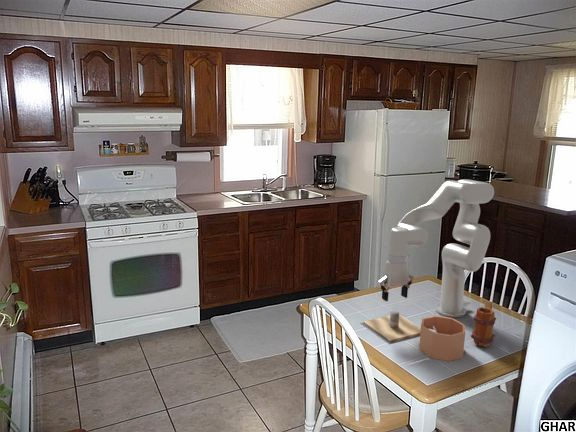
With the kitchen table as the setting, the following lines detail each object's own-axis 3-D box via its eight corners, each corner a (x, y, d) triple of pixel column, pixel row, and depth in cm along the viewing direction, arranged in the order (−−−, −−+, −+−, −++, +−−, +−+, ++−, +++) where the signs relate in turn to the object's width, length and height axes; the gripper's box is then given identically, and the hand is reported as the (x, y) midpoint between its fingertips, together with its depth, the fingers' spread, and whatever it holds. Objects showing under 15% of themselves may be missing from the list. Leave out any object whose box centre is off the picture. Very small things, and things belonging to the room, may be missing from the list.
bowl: (441, 336, 189) (443, 313, 186) (472, 354, 175) (474, 330, 173) (411, 344, 182) (412, 320, 180) (439, 364, 168) (442, 338, 166)
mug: (491, 351, 177) (495, 315, 174) (468, 346, 181) (472, 310, 178) (497, 336, 189) (501, 301, 186) (476, 330, 193) (479, 297, 190)
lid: (397, 315, 206) (398, 301, 204) (425, 333, 190) (426, 317, 189) (363, 323, 199) (364, 308, 197) (389, 342, 183) (390, 326, 181)
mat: (397, 315, 208) (397, 314, 207) (429, 334, 190) (429, 333, 190) (360, 324, 199) (360, 323, 199) (389, 345, 182) (389, 344, 182)
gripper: (408, 253, 194) (405, 292, 198) (374, 258, 187) (371, 298, 191) (420, 258, 188) (417, 298, 191) (385, 263, 180) (382, 305, 184)
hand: (394, 298), depth 191 cm, fingers open, 9 cm apart
